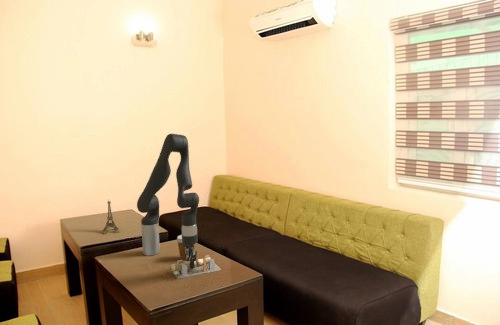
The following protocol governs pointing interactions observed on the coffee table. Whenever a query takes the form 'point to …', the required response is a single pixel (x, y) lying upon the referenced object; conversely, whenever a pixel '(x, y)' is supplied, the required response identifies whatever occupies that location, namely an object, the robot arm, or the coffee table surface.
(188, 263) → the dowel
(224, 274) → the coffee table surface
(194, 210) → the robot arm
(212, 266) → the white peg stand
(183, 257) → the disposable coffee cup
